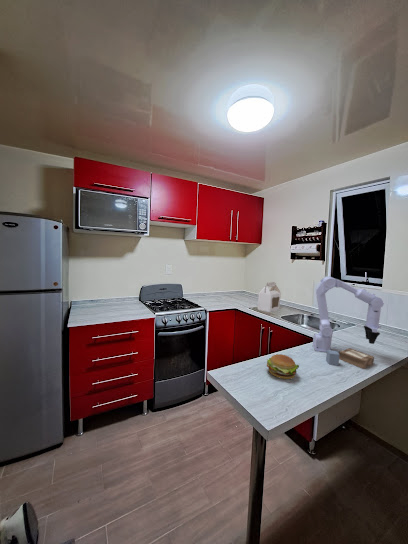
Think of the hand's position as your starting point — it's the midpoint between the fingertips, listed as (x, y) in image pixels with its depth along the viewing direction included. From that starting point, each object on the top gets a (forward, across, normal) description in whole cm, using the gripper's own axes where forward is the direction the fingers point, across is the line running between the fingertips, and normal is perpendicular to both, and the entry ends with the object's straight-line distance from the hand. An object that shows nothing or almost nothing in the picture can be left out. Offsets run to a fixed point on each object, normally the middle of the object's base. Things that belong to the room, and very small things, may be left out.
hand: (369, 341), depth 128 cm
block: (+10, -20, +19) cm, 29 cm away
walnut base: (+10, -10, +7) cm, 15 cm away
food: (+10, -46, +41) cm, 63 cm away
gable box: (+10, +82, +69) cm, 108 cm away
